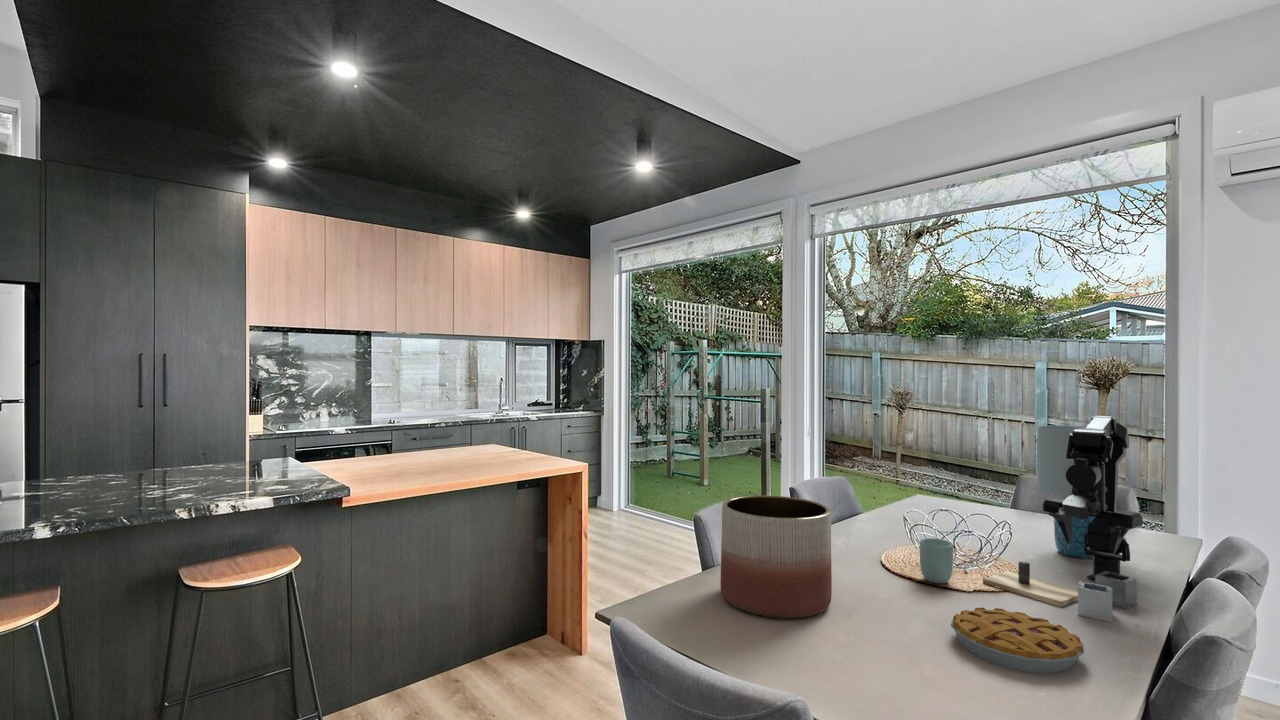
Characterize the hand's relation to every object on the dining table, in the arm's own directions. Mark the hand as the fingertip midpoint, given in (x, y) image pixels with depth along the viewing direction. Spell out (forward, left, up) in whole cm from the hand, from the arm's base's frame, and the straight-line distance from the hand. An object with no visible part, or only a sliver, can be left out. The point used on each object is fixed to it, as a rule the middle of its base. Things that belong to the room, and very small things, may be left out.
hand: (1090, 548), depth 144 cm
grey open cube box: (+8, +4, -13) cm, 16 cm away
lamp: (-40, -20, -13) cm, 46 cm away
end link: (-5, +3, -13) cm, 14 cm away
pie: (+42, +4, -13) cm, 45 cm away
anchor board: (+4, -11, -13) cm, 17 cm away
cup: (+19, -27, -13) cm, 35 cm away
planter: (+65, -38, -13) cm, 77 cm away
